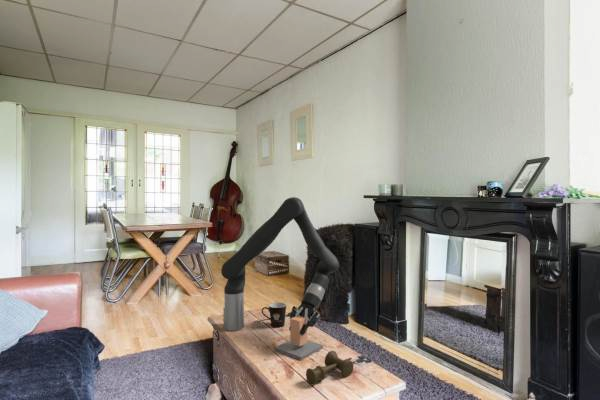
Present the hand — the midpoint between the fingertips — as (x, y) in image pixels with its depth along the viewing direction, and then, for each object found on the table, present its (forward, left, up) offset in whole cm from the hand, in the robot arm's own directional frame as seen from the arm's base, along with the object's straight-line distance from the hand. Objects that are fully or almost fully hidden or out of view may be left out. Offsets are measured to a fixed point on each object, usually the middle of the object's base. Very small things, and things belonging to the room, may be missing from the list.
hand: (295, 332), depth 137 cm
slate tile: (0, +2, -7) cm, 8 cm away
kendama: (+22, -7, -8) cm, 24 cm away
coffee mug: (-27, +16, -8) cm, 32 cm away
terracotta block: (0, +2, -5) cm, 5 cm away
